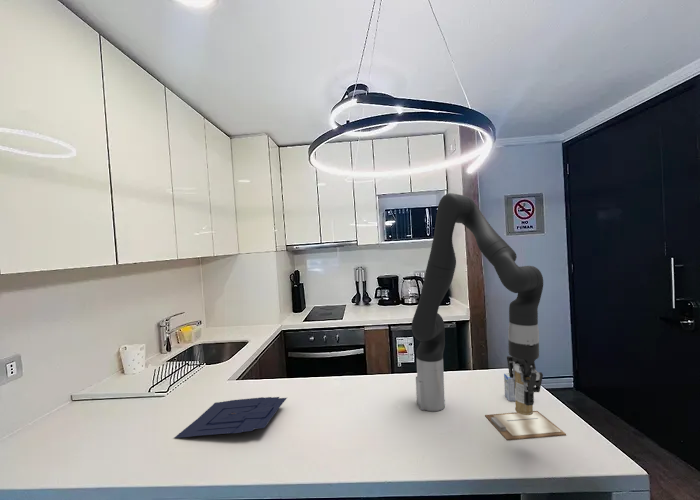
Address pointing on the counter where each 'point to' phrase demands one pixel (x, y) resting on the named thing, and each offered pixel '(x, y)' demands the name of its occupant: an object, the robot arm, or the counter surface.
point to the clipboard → (524, 425)
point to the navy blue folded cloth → (234, 416)
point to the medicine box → (509, 387)
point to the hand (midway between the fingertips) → (523, 400)
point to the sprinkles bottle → (521, 394)
